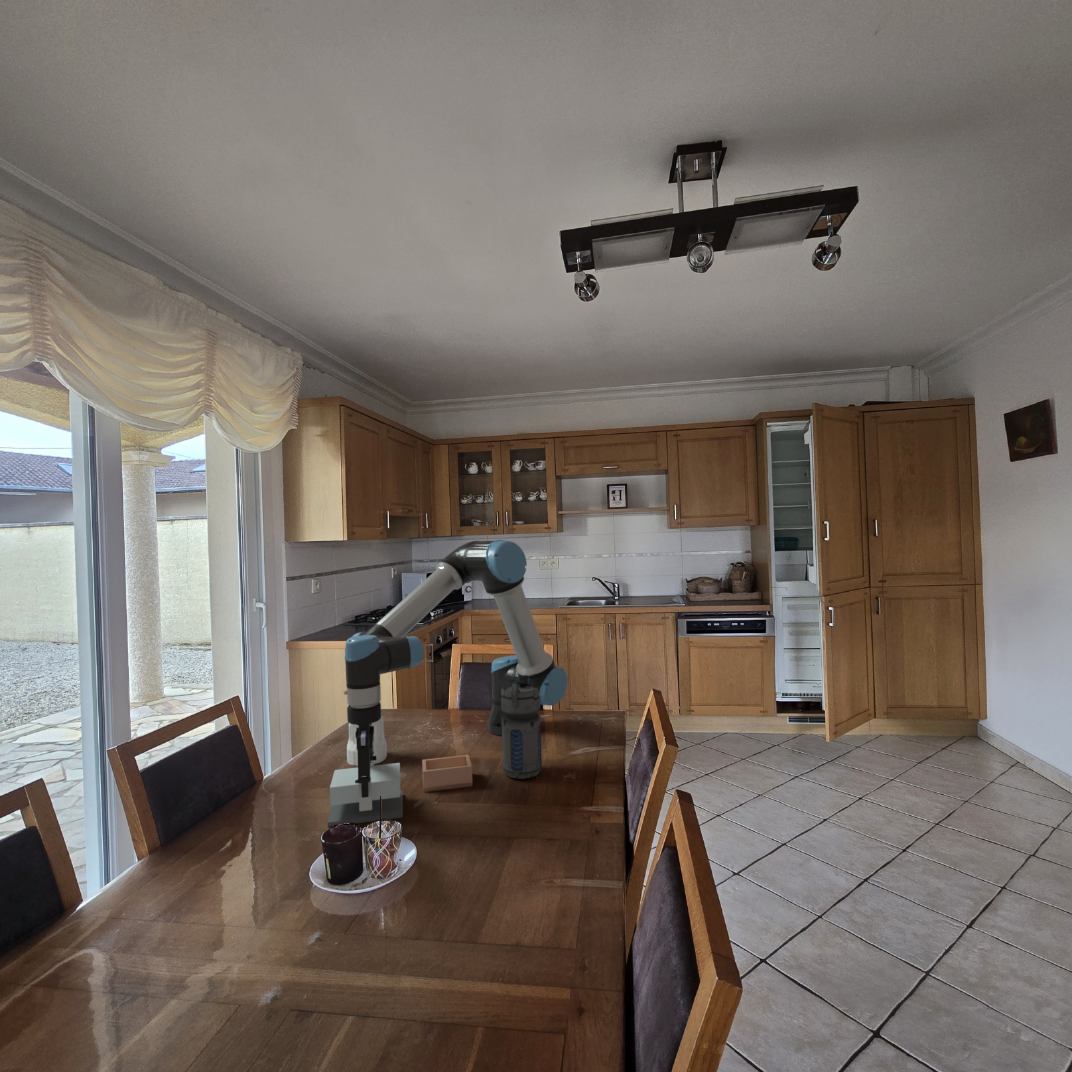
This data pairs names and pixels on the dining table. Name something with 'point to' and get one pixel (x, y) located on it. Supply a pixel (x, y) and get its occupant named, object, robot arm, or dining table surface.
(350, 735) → the white ridged column
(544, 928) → the dining table surface
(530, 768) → the beverage bottle
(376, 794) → the board
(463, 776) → the brown open box
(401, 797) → the mat
